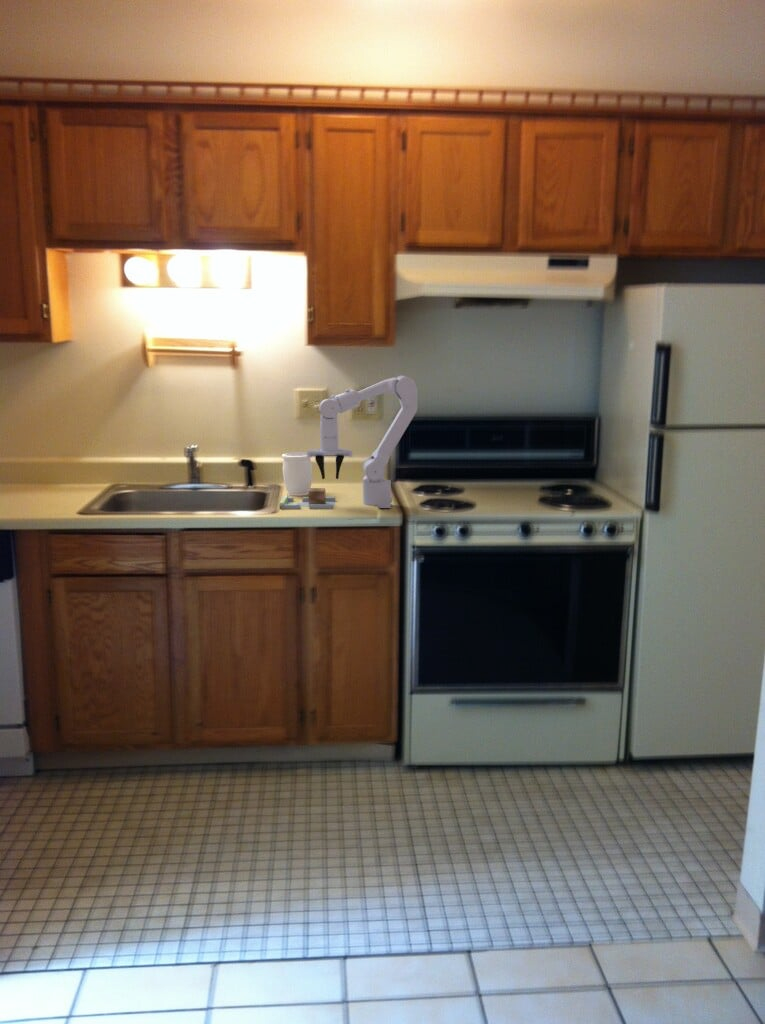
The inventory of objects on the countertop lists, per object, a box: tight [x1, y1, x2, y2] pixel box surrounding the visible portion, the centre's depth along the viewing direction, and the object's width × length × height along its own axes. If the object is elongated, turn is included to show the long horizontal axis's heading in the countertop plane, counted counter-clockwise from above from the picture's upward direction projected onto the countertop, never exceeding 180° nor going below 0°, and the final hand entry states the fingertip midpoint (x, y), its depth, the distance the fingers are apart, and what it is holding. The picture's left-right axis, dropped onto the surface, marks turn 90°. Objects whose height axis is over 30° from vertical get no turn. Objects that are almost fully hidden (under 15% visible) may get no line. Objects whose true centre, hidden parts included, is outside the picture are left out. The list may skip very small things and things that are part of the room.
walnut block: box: [308, 487, 327, 505], centre depth 277 cm, size 5×5×5 cm
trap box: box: [279, 494, 336, 510], centre depth 277 cm, size 17×12×3 cm
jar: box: [281, 451, 313, 497], centre depth 295 cm, size 11×10×15 cm
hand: (330, 478), depth 275 cm, fingers open, 4 cm apart
